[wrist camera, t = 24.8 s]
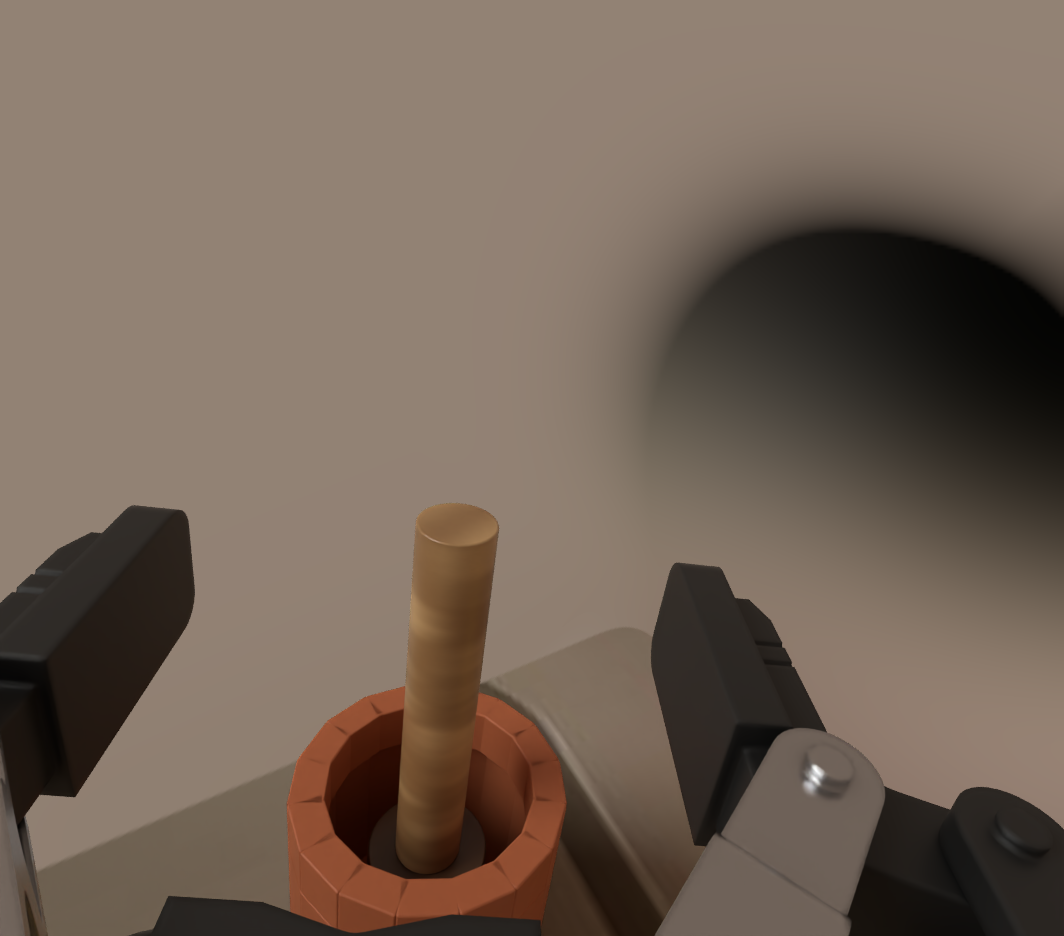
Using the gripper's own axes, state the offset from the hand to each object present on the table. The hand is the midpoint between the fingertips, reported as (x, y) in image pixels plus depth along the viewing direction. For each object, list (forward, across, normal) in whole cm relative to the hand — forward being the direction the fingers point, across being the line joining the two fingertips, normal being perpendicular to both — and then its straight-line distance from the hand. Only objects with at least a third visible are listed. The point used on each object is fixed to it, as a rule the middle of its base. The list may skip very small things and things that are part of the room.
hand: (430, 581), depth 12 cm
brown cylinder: (+8, 0, +24) cm, 25 cm away
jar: (+8, 0, +24) cm, 26 cm away
